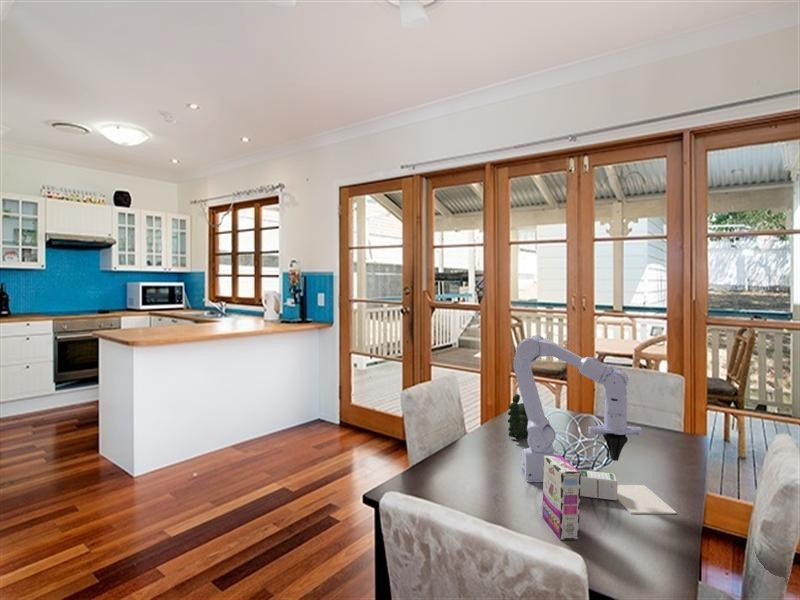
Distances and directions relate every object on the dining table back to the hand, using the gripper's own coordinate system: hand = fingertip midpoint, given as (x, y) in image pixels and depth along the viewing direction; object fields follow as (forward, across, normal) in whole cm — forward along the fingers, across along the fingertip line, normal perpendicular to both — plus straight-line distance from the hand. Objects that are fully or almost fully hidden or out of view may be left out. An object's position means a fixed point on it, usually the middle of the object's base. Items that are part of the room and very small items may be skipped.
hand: (614, 459), depth 129 cm
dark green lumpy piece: (+11, -14, +52) cm, 54 cm away
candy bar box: (+11, -21, -18) cm, 30 cm away
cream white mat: (+10, +6, -3) cm, 12 cm away
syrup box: (+7, 0, -2) cm, 7 cm away
